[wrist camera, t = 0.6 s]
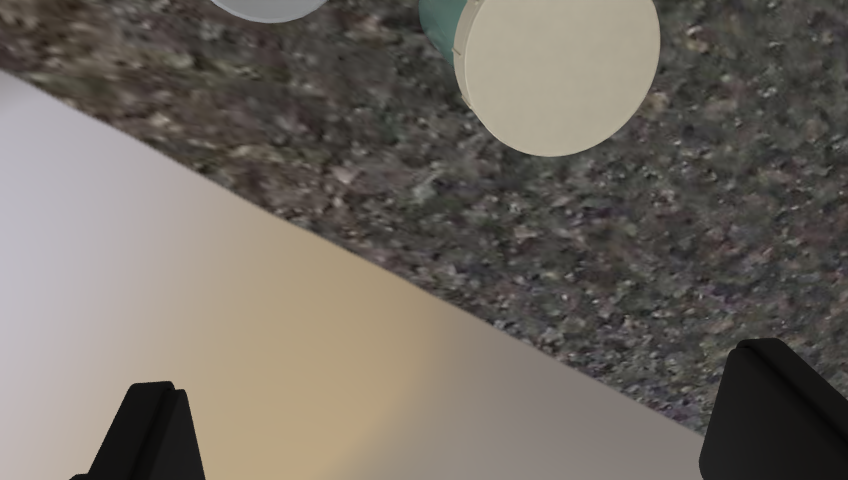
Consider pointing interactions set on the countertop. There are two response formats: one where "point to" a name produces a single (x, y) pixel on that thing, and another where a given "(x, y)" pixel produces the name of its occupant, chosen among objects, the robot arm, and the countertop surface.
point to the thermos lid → (555, 68)
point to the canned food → (270, 9)
